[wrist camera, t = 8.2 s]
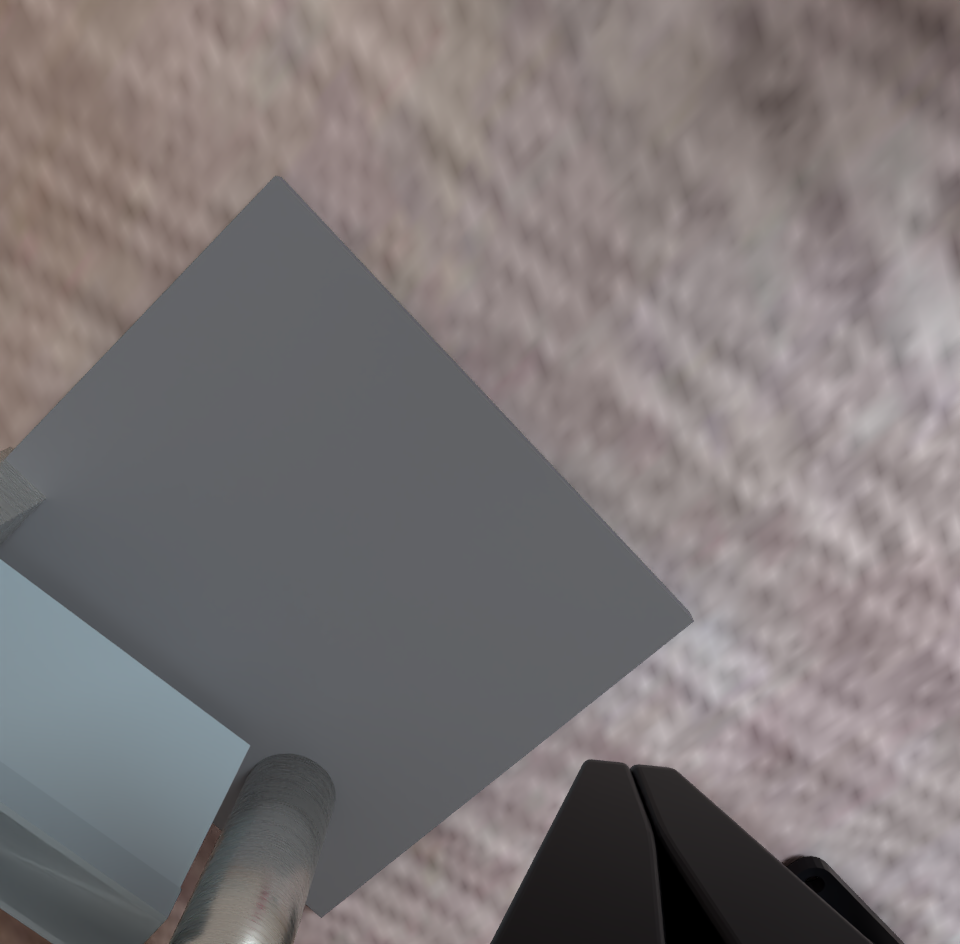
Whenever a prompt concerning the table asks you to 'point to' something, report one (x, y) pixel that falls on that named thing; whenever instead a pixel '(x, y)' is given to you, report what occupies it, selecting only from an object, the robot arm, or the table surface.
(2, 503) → the latch post
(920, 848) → the table surface
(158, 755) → the gate
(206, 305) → the mat
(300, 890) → the hinge post
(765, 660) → the table surface
